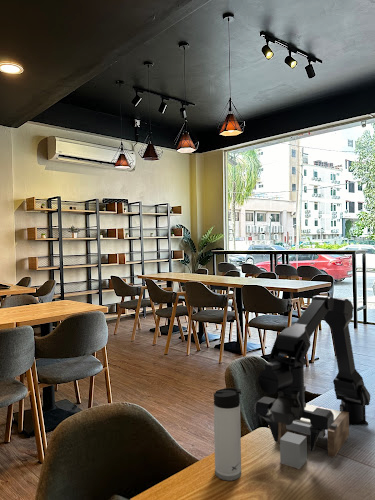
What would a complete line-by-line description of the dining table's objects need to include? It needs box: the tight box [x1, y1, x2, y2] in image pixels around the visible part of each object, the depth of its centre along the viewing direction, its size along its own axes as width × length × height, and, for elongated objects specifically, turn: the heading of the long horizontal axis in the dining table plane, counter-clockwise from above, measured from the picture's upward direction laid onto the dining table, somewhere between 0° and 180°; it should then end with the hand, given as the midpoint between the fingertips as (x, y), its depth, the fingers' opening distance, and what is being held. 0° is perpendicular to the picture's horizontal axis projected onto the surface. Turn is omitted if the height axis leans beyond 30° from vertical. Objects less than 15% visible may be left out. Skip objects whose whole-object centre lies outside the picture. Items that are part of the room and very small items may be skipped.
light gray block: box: [279, 432, 308, 470], centre depth 100 cm, size 5×5×6 cm
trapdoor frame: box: [276, 411, 350, 458], centre depth 112 cm, size 15×16×7 cm
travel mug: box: [213, 387, 242, 482], centre depth 95 cm, size 6×7×20 cm
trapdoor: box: [286, 403, 341, 439], centre depth 112 cm, size 14×12×2 cm
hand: (293, 446), depth 100 cm, fingers open, 9 cm apart
